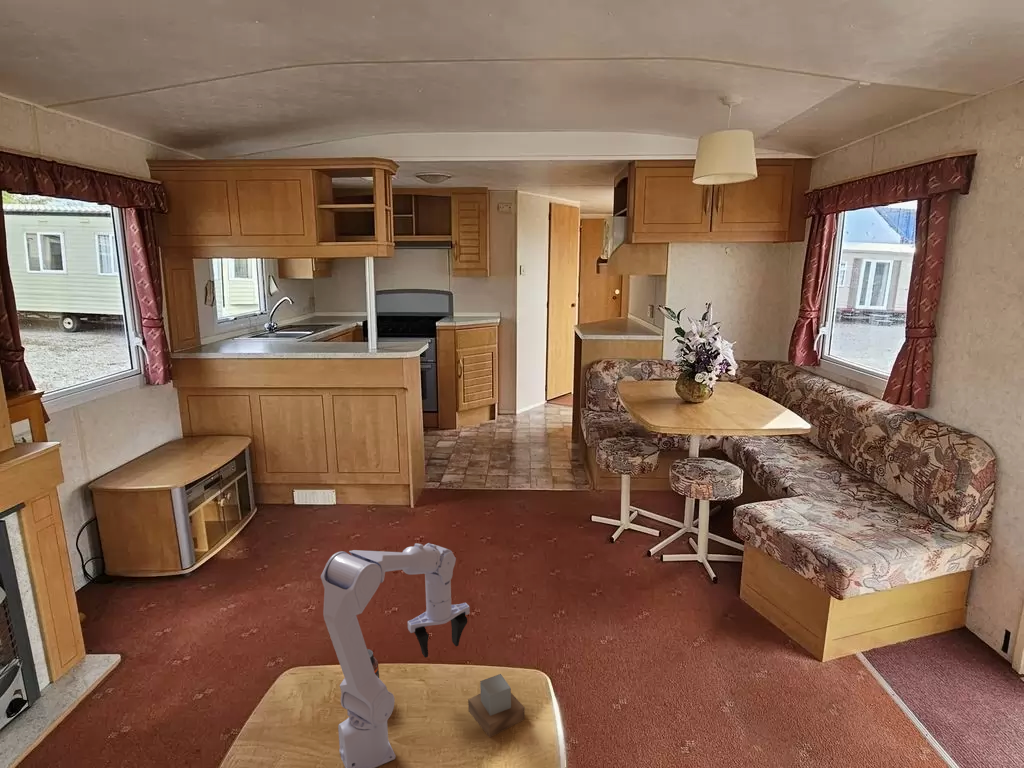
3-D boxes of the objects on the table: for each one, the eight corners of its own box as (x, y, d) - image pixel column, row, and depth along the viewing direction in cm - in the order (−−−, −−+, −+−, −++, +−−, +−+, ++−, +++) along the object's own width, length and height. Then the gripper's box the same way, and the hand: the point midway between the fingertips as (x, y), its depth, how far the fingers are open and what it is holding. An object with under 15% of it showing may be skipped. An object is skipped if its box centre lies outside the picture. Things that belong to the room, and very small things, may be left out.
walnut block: (489, 739, 124) (489, 725, 123) (468, 712, 131) (468, 699, 131) (524, 721, 129) (524, 707, 128) (502, 696, 136) (502, 683, 135)
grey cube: (490, 715, 126) (489, 695, 125) (480, 700, 130) (480, 681, 129) (511, 707, 128) (510, 687, 127) (501, 693, 132) (500, 673, 131)
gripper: (459, 579, 140) (461, 630, 143) (401, 596, 133) (404, 649, 136) (473, 593, 134) (474, 646, 137) (413, 612, 127) (415, 667, 130)
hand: (440, 649), depth 136 cm, fingers open, 7 cm apart
